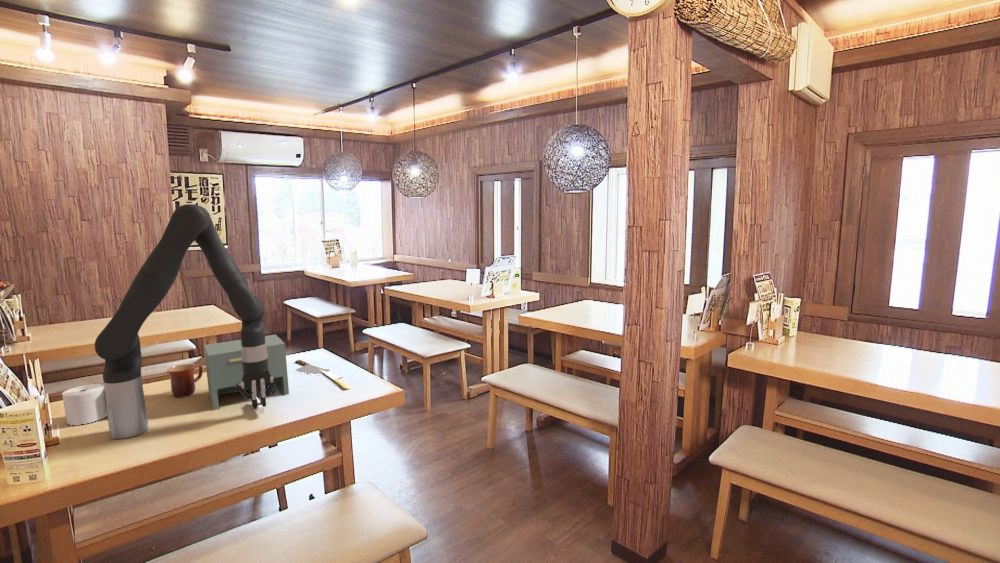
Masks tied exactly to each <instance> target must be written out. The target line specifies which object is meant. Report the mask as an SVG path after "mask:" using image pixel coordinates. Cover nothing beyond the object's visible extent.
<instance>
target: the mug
mask: <svg viewBox="0 0 1000 563" xmlns="http://www.w3.org/2000/svg"><path fill="white" fill-rule="evenodd" d="M196 368H198V375H197V376H196V377H195V375H194V373H195V370H196ZM166 371H167V373H168V377H169V379H170V380H169V381H170V387H171V388H170V391H171V394H172V396H173V397H175V398H185V396H186V397H189V396H191V394H192V395H193V394H194V393H195V391H196V383H197V382H199V380H200V379H201V378H202V376H203V371H204V369H203V365H201V364H193V363H184V364H183V363H182V364H176V365H174V366H170V367H168V368H167V369H166Z"/></svg>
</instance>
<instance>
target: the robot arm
mask: <svg viewBox="0 0 1000 563" xmlns="http://www.w3.org/2000/svg"><path fill="white" fill-rule="evenodd" d="M194 241H195V243H196V244H197V245H198V247H199V249H200V250H201V251H202V253H203V254H204V257H205V258H206V259H205V260H206V261H207V264H208V265H209V268H210V269H211V272H212V274H213V275H214V277H215V279H216V280H217V282H218V284H219V285H220V286H221V288H222V289H223V291H224V292H225V293H226V295H227V298H228V300H229V303H230V305H231V307H232V308H233V310H234V312H235V313H236V316H238V317H239V318H240V319H241V330H240V340H241V346H242V349H241V355H242V356H241V359H242V366H243V378H242V381H241V382H239V383H236V384H235V387H236V389H237V390H238V391H237V392H239V393H240V394H241V395H242V396H243V397H244V398H245V399H246V400H250V401H251V400H252V402H251V407H252V409H253V410H255V411H257V410H256V408H257V406H258V404H257V399H256V397H257V389H258V390H259V394H260V396H259V401H260V403H261V405H262V406H263V407H264V408H266V407H267V401H266V397H267V396H270V395H271V394H272V393H273V391H274V389H275V388H276V386H277V382H278V380H279V379H278V378H277V377H276V376H272V375H271V374H270V373H269V367H268V355H267V348H266V343H265V336H266V334H265V333H266V332H265V325H264V324H265V307H264V306H265V305H264V303H263V301H262V299H261V298H259V297H258V296H256V295H253V293H252V292H251V290H250V288H249V284H248V283H249V282H248V281H247V279H246V277H245V276H244V275H243V273H242V271H241V269H240V268H239V266H238V265H237V263H236V262H235V260H234V259H233V257H232V256H231V255H230V253H229V251H228V250H227V248H226V246H225V245H224V244H223V242H222V240H221V237H220V236H219V233H218V231H217V228H216V227H215V225H214V222H213V220H212V217H211V215H210V213H209V211H208V210H207V209H206V207H205V208H204V207H203V206H201V205H199V204H191V203H186V204H183V205H180V206H178V207H177V208H176V209H175V210H174V211H173V212H172V215H171V216H170V219H169V221H168V224H167V225H166V228H165V230H164V232H163V234H162V236H161V239H160V240H159V241H158V243H157V244H156V246H155V247H154V248H153V250H152V251H151V252H150V254H149V255H148V257H147V258H146V260H145V261H144V262H143V264H142V266H140V269H139V270H138V271H137V273H136V275H135V277H134V278H133V280H132V282H131V284H130V286H129V287H128V289H127V291H126V293H125V294H124V297H123V299H122V300H121V304H120V305H119V307H118V309H117V310H116V312H115V313H114V314H113V316H112V317H111V319H110V321H109V322H108V323H107V324H106V326H105V327H104V328H103V329H102V330H101V331H100V333H99V334H98V335H97V337H96V338H95V341H94V350H95V353H96V354H97V356H98V357H100V359H103V360H104V361H105V362H104V368H103V370H102V380H103V385H104V388H105V395H106V402H107V423H108V430H109V436H110V440H117V439H119V440H120V439H127V438H128V439H129V438H132V437H136V436H139V435H141V434H144V433H146V432H147V431H148V430H149V422H148V416H147V407H146V402H145V401H146V400H145V393H144V392H145V391H144V385H143V376H142V365H143V364H142V363H143V358H142V348H141V347H142V346H141V340H140V336H139V331H140V330H141V328H142V326H143V324H144V323H145V322H146V321H147V319H148V317H149V316H150V315H152V313H153V312H155V310H156V308H158V306H159V305H160V304H161V303H162V301H163V300H164V298H165V297H166V296H167V295H168V293H169V291H170V290H171V288H172V286H174V283H175V281H176V279H177V277H178V275H179V272H180V269H181V267H182V264H183V259H184V258H185V255H186V253H187V252H188V250H189V249H190V247H191V246H192V244H193V243H194ZM269 379H270V382H271V383H270V384H269V385H267V386H268V387H267V388H266V386H265V385H266V384H267V382H268V381H269ZM244 383H245V384H246V385H247V386H248V387H249V388H250V389H249V390H250V393H248V392H247V390H244V389H243V388H244Z"/></svg>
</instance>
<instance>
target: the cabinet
mask: <svg viewBox="0 0 1000 563" xmlns="http://www.w3.org/2000/svg"><path fill="white" fill-rule="evenodd" d="M265 343H266V348H267V355H268V367H269V373H270V374H271V375H272V376H276V377H277V378H278V379H279V380H278V382H277V384H276V386H277V387H278V388H279V389H280V391H281V392H282V393H283V395H284V396H286V395H287V396H288V395H289V394H290V389H289V387H290V386H289V379H288V378H289V376H288V365H287V353H286V343H285V342H284V341H283V340H282V339H281V338H280V337H279V336H278V335H277V334H276V333H275V334H270V335H265ZM241 349H242V346H241V339H236V340H229V341H222V342H217V343H215V342H214V343H209V344H204V345H203V351H204V358H205V361H204V362H205V368H206V369H205V370H206V379H207V387H208V394H209V399H210V402H211V405H212V408H213V410H214V411H216V410H219V409H220V403H219V396H222V395H226V394H231V393H237V392H239V391H238V390H237V389H236V387H235V384H236V383H239V382H241V381H242V378H243V366H242V359H241V356H242V355H241ZM270 383H271V382H270V379H269V381H268V382H267V384H266V385H265V387H266V386H269V384H270ZM243 389H244V390H245V391H247V390H250V388H249V387H248V386H247V385H246V384H245V383H244V388H243ZM246 389H247V390H246Z"/></svg>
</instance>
